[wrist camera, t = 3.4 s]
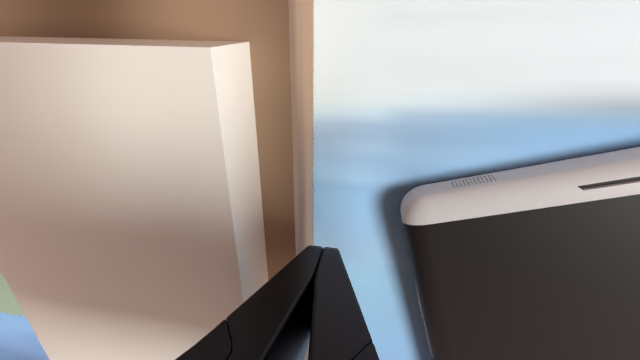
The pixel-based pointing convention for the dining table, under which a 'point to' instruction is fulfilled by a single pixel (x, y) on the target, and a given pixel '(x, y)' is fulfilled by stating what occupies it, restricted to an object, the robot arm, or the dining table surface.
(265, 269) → the pale pink slab
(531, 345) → the smartphone
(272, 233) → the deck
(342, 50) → the dining table surface
